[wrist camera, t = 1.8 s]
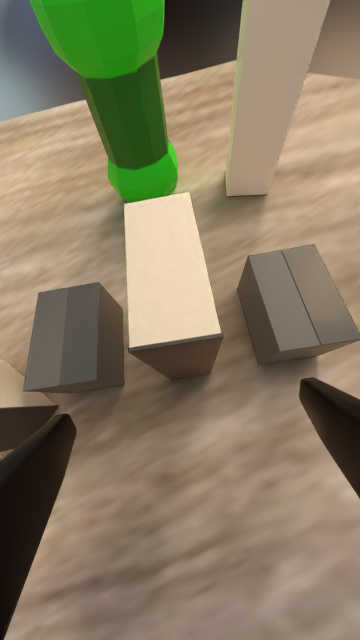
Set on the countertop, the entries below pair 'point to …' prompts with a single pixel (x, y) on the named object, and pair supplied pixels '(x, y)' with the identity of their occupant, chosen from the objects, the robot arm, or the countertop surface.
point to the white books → (20, 409)
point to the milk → (268, 86)
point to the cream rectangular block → (169, 289)
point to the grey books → (258, 306)
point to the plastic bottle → (118, 85)
